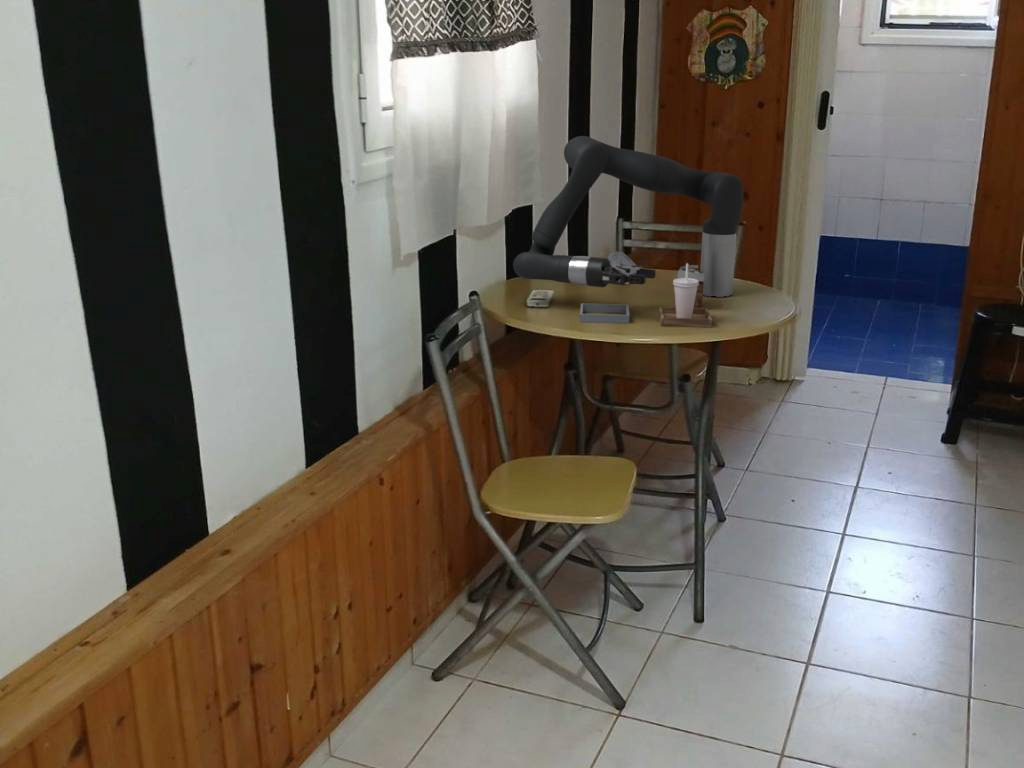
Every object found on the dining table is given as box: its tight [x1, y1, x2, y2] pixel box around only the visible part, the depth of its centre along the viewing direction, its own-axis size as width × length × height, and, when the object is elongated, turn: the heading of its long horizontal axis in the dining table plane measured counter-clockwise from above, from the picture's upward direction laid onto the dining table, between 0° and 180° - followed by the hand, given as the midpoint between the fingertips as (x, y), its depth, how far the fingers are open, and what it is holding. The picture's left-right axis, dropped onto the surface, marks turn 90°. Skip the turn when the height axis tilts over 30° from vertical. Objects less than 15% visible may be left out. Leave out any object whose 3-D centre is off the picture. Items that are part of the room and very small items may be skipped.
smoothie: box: [672, 262, 699, 318], centre depth 259 cm, size 6×6×14 cm
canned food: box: [607, 250, 637, 286], centre depth 307 cm, size 11×10×10 cm
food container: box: [676, 264, 704, 308], centre depth 276 cm, size 12×6×10 cm, turn 178°
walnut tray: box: [658, 306, 713, 328], centre depth 261 cm, size 12×12×2 cm
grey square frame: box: [579, 302, 630, 324], centre depth 264 cm, size 12×12×2 cm
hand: (650, 277), depth 262 cm, fingers open, 8 cm apart
